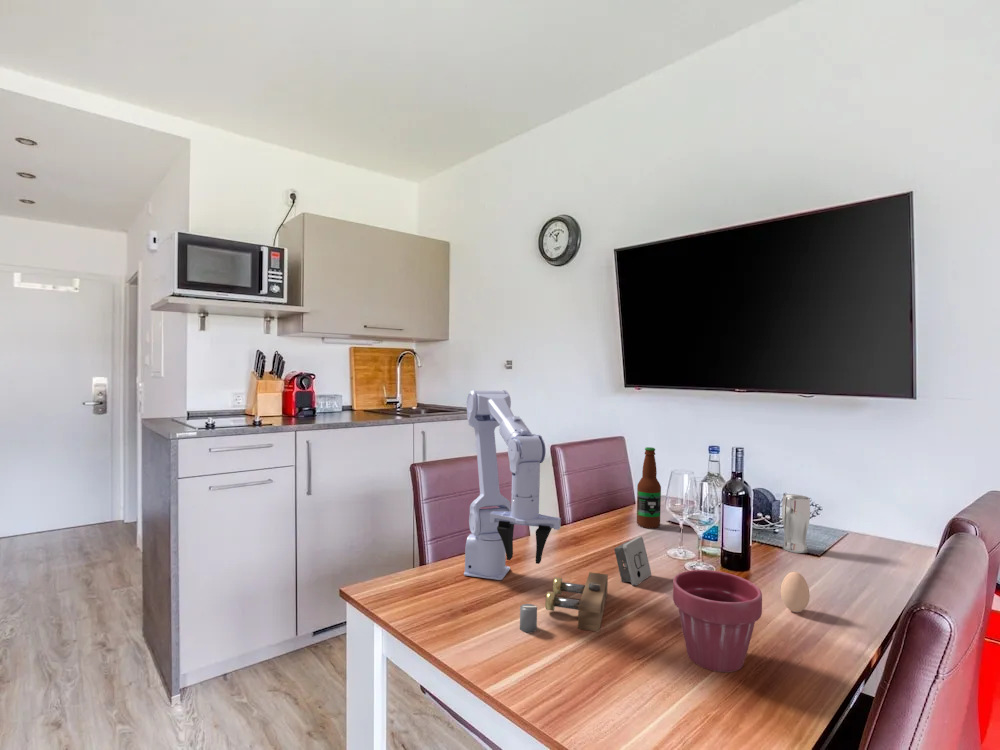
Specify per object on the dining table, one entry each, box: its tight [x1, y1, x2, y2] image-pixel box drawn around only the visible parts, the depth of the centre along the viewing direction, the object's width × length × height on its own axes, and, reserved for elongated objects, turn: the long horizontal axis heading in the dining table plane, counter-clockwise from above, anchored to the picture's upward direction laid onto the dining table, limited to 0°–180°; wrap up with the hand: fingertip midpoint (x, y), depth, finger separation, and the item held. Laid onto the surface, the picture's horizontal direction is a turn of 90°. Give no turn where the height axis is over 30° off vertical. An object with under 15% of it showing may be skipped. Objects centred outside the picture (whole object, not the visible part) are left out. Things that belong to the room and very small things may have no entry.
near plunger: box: [544, 591, 581, 611], centre depth 107 cm, size 8×3×3 cm, turn 74°
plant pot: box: [672, 569, 763, 673], centre depth 92 cm, size 14×14×13 cm
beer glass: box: [781, 493, 811, 554], centre depth 150 cm, size 7×7×15 cm
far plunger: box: [552, 576, 585, 596], centre depth 115 cm, size 8×3×3 cm, turn 74°
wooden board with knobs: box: [577, 571, 609, 633], centre depth 110 cm, size 4×18×5 cm, turn 164°
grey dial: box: [519, 603, 538, 634], centre depth 101 cm, size 3×3×4 cm
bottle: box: [636, 447, 662, 530], centre depth 171 cm, size 7×7×25 cm
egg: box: [780, 571, 811, 613], centre depth 111 cm, size 5×5×8 cm
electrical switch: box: [613, 536, 652, 587], centre depth 127 cm, size 9×5×9 cm, turn 141°
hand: (523, 560), depth 110 cm, fingers open, 5 cm apart
